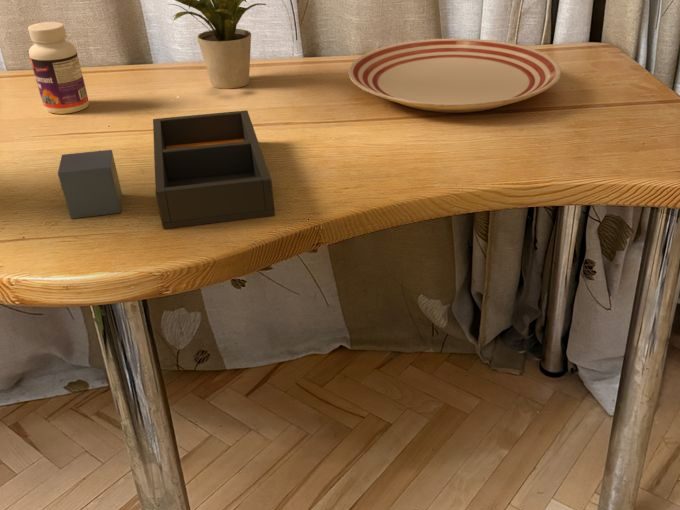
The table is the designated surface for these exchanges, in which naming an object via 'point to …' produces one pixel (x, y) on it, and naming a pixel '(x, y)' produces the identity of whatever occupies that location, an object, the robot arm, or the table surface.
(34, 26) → the pill bottle
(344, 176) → the table surface
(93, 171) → the gray cube
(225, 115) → the sorter
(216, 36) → the house plant
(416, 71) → the dinner plate
